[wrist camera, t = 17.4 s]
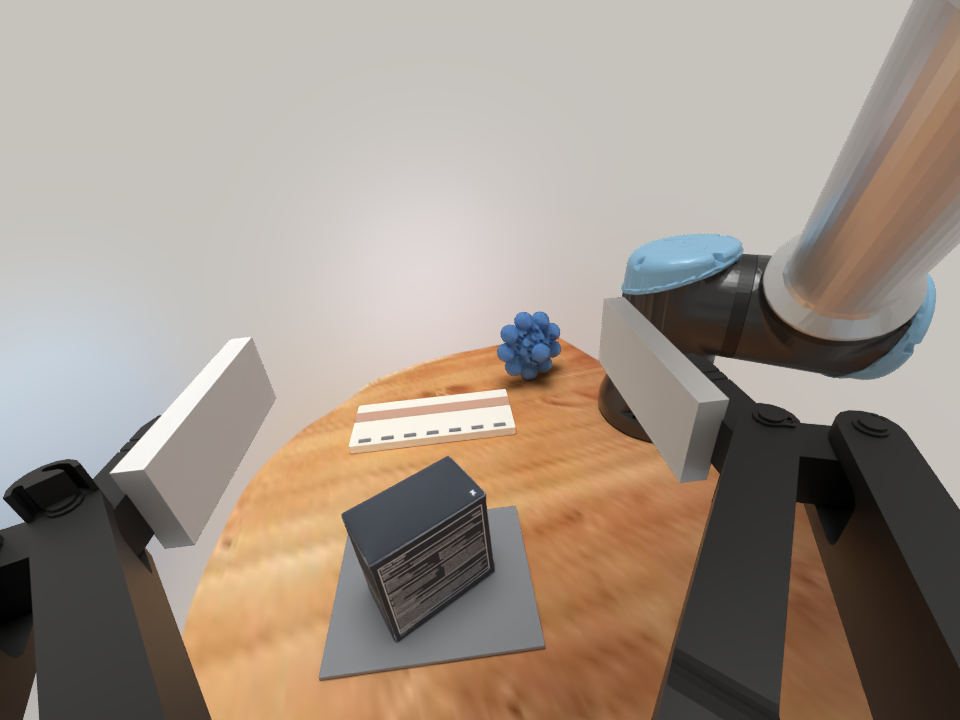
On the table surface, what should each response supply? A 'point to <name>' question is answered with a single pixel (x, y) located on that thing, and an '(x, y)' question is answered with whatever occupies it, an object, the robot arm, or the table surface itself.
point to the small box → (422, 544)
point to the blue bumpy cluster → (529, 345)
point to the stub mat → (438, 615)
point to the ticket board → (432, 421)
